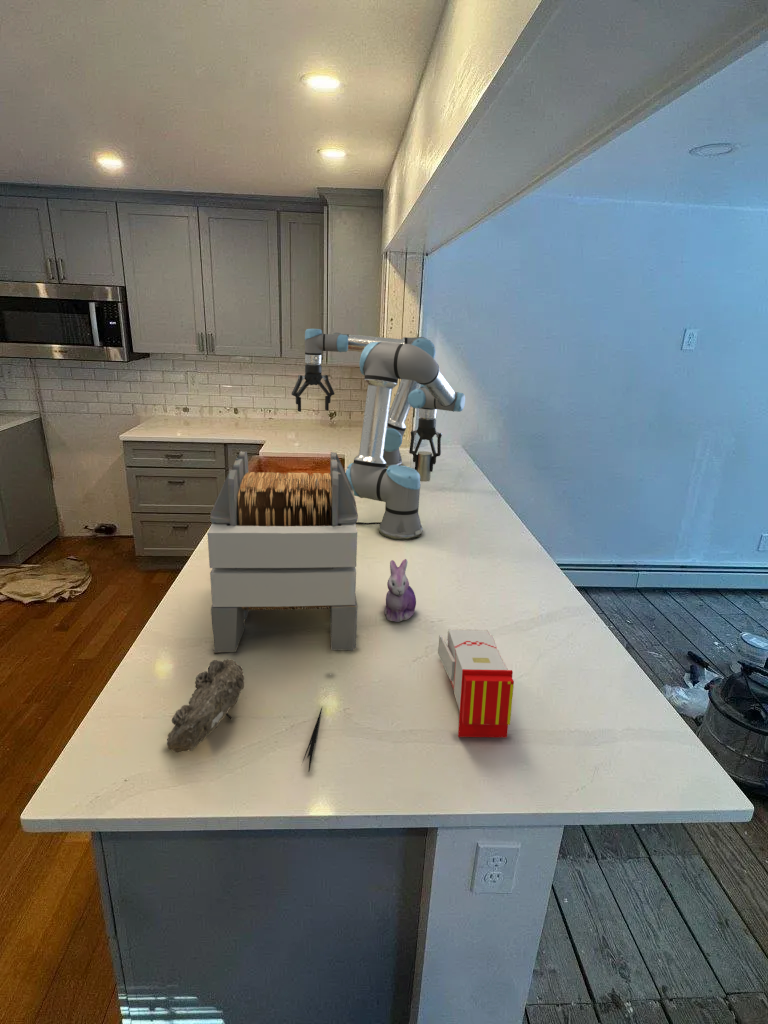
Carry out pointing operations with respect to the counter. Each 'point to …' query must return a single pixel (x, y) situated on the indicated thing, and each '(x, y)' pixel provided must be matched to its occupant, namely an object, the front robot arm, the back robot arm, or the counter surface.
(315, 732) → the feather
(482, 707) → the toy
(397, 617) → the figurine
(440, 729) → the counter surface
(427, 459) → the tin
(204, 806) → the counter surface
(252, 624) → the counter surface
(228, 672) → the fossil
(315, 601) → the file storage bin
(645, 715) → the counter surface
